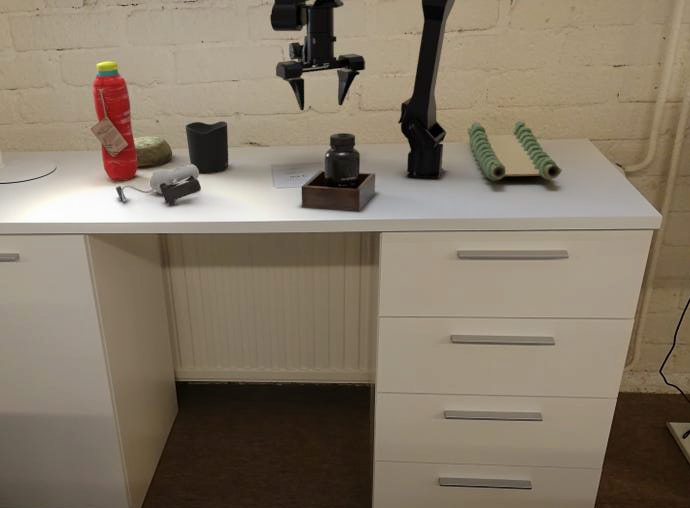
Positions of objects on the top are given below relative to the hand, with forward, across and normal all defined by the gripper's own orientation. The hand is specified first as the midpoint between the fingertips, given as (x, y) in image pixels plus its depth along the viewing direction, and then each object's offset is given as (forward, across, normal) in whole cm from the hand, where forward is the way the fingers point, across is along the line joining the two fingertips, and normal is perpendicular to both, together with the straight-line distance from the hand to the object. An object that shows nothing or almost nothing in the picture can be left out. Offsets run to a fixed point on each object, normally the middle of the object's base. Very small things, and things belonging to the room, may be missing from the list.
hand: (321, 107), depth 171 cm
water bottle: (+13, +44, -14) cm, 48 cm away
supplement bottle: (+13, +7, +24) cm, 28 cm away
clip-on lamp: (+13, +39, +5) cm, 42 cm away
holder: (+13, +7, +24) cm, 29 cm away
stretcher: (+13, -36, +19) cm, 43 cm away
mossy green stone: (+13, +35, -26) cm, 46 cm away
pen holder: (+13, +23, -12) cm, 29 cm away
